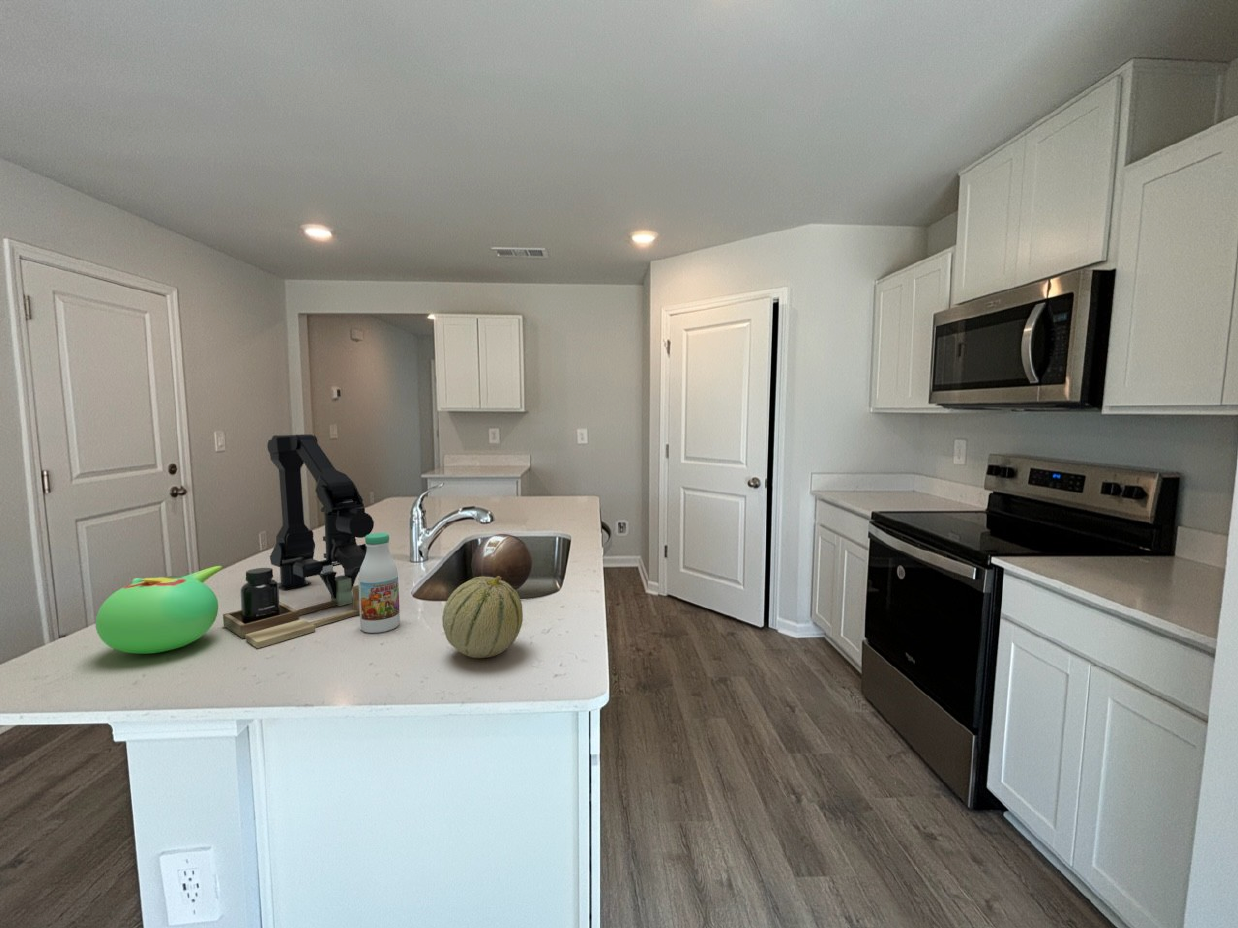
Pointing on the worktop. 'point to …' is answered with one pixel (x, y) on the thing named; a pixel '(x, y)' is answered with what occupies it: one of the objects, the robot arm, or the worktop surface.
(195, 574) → the green spouted ovoid
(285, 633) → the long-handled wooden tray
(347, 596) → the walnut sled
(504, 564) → the wooden sphere
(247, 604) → the supplement bottle
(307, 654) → the worktop surface
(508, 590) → the cantaloupe
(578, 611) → the worktop surface
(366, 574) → the milk bottle
